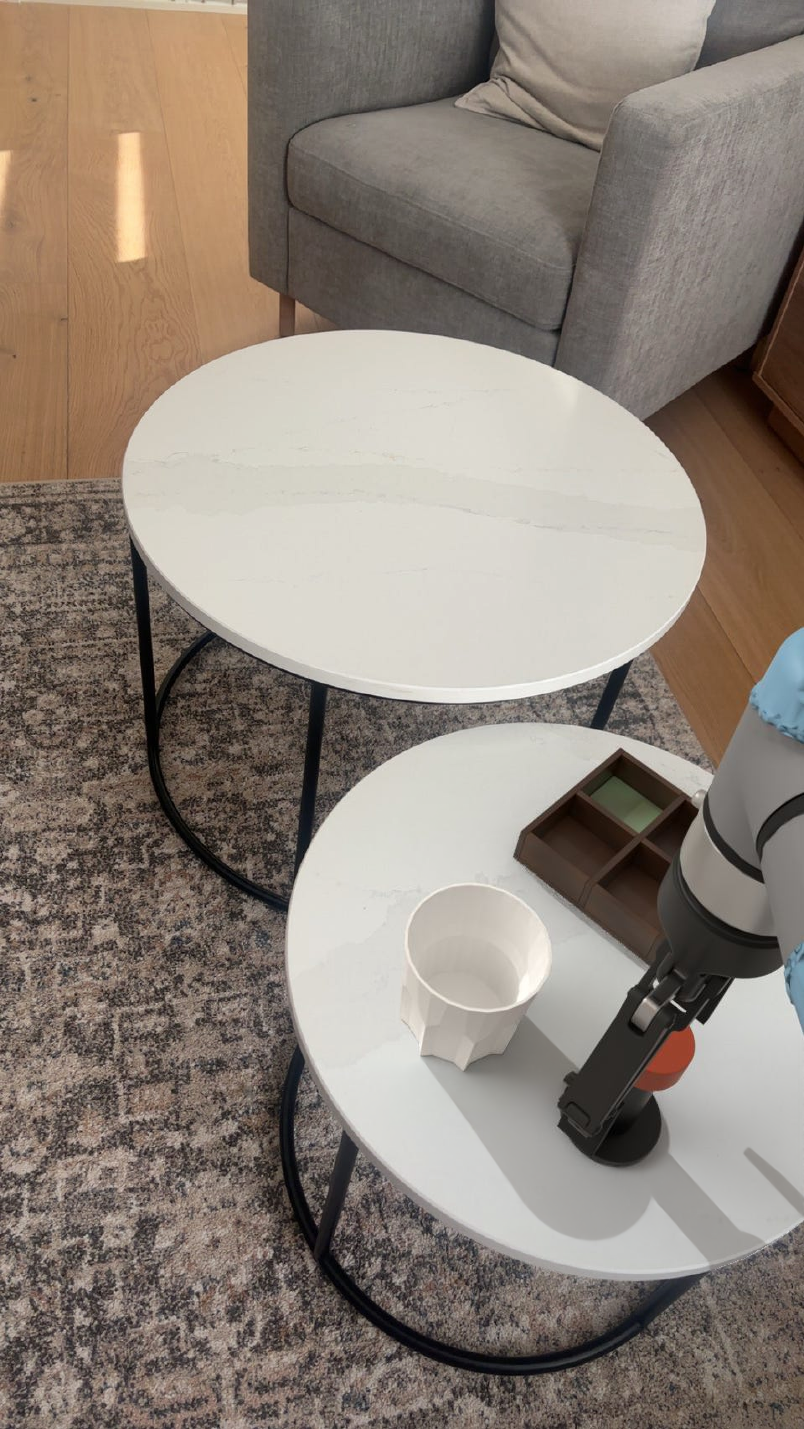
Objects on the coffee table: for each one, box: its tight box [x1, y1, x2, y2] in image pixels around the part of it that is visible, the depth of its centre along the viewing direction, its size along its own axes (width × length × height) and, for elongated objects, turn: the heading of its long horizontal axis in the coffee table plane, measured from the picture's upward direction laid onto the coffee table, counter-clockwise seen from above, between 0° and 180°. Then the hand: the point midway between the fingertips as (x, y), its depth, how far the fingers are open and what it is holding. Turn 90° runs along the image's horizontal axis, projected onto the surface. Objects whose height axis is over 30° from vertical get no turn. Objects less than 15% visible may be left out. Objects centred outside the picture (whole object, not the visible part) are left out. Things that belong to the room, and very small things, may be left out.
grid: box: [512, 747, 699, 967], centre depth 91 cm, size 14×14×4 cm
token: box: [634, 1025, 696, 1092], centre depth 69 cm, size 5×5×2 cm
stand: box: [559, 1072, 663, 1168], centre depth 73 cm, size 7×7×9 cm
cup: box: [398, 881, 553, 1072], centre depth 77 cm, size 10×10×10 cm
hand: (636, 1069), depth 71 cm, fingers open, 12 cm apart
